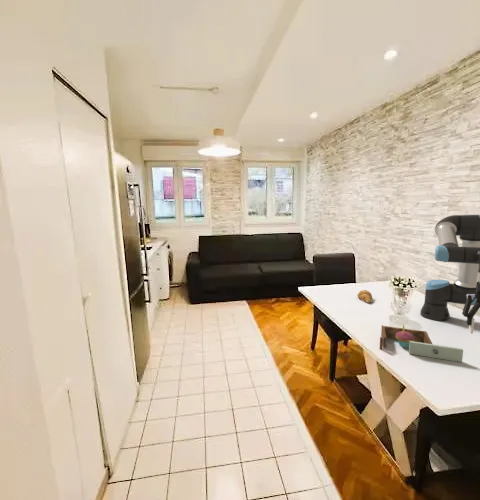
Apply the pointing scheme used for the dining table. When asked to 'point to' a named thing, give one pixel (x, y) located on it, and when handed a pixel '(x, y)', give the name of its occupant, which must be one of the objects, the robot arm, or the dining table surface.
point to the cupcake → (404, 338)
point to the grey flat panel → (436, 351)
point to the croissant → (365, 296)
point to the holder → (391, 331)
